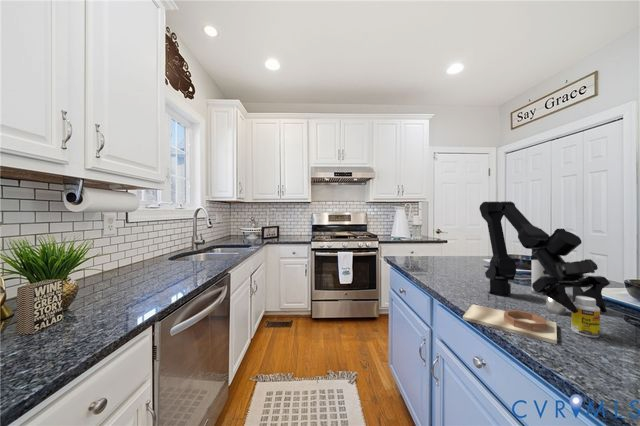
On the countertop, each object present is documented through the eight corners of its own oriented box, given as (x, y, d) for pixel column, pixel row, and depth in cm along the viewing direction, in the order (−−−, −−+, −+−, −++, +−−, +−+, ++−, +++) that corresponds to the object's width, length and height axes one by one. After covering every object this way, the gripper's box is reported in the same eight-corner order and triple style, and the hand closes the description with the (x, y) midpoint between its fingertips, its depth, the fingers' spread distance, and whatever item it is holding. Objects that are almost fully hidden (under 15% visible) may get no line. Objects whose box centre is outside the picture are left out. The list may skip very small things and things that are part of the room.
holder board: (462, 319, 80) (462, 310, 80) (472, 306, 90) (472, 298, 90) (556, 344, 65) (556, 332, 65) (556, 325, 75) (556, 315, 75)
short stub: (545, 311, 85) (545, 297, 85) (545, 307, 89) (546, 293, 89) (565, 316, 82) (566, 301, 82) (565, 311, 86) (565, 297, 85)
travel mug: (556, 295, 101) (556, 246, 101) (540, 295, 101) (540, 246, 101) (543, 290, 107) (543, 244, 107) (527, 290, 108) (527, 244, 107)
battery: (602, 313, 84) (602, 279, 84) (589, 313, 84) (589, 279, 84) (583, 305, 91) (583, 274, 90) (571, 305, 91) (571, 274, 91)
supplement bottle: (579, 337, 69) (579, 300, 69) (566, 327, 74) (566, 293, 74) (605, 340, 67) (606, 302, 67) (590, 330, 72) (590, 295, 72)
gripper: (540, 249, 74) (578, 299, 63) (603, 249, 74) (651, 299, 63) (519, 269, 82) (549, 317, 71) (575, 269, 82) (615, 316, 71)
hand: (590, 312), depth 69 cm, fingers open, 8 cm apart
